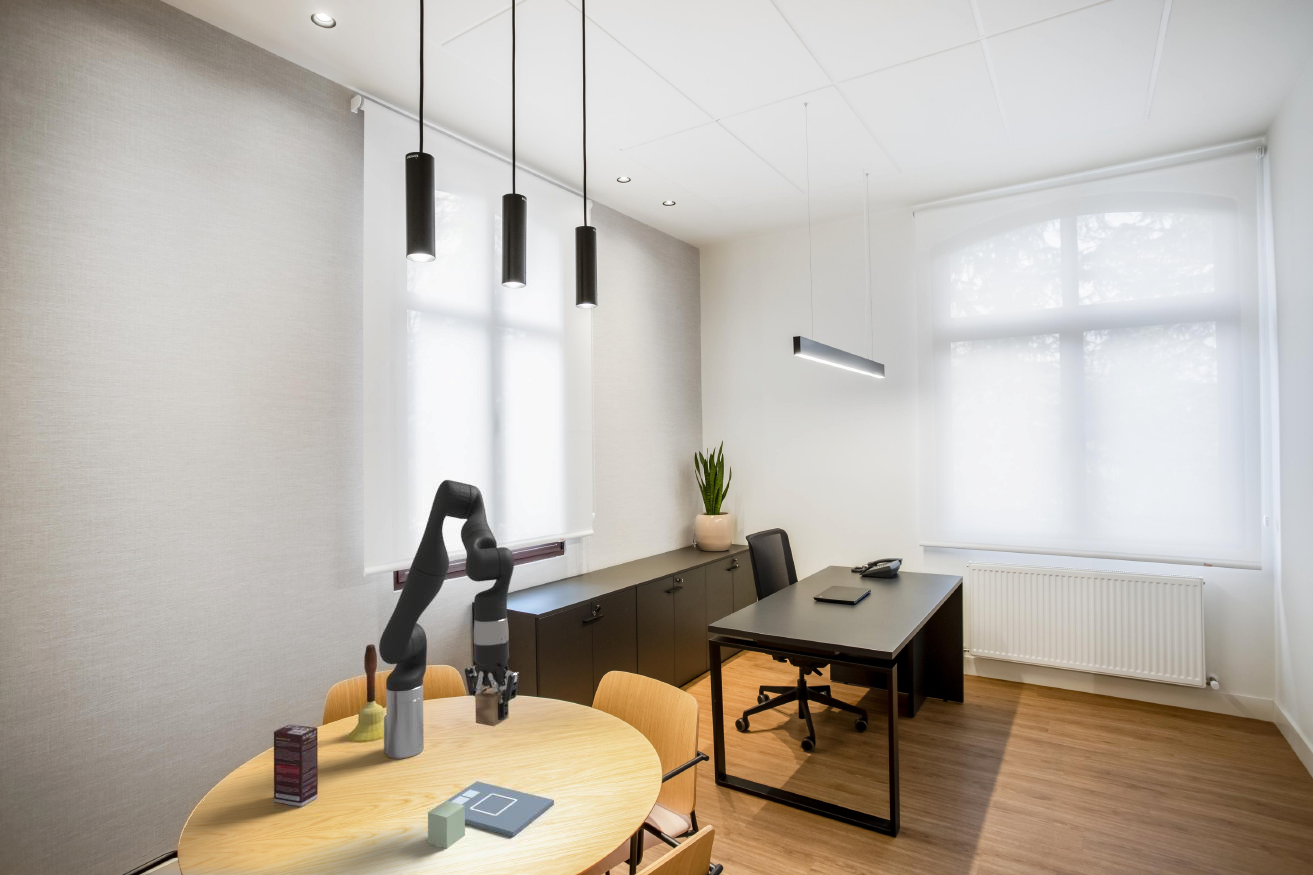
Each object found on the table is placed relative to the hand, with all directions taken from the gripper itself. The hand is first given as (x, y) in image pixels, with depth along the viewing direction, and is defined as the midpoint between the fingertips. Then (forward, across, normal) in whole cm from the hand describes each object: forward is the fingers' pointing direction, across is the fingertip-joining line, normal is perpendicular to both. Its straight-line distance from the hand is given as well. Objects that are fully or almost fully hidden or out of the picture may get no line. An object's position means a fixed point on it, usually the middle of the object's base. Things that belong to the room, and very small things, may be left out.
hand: (492, 716), depth 145 cm
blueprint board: (+20, 0, 0) cm, 20 cm away
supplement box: (+20, -45, -15) cm, 51 cm away
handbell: (+20, -61, +19) cm, 67 cm away
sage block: (+20, -1, -13) cm, 24 cm away
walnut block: (+1, 0, 0) cm, 1 cm away
